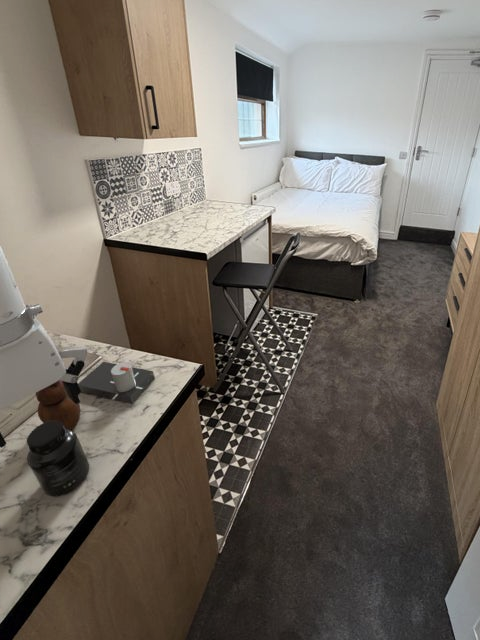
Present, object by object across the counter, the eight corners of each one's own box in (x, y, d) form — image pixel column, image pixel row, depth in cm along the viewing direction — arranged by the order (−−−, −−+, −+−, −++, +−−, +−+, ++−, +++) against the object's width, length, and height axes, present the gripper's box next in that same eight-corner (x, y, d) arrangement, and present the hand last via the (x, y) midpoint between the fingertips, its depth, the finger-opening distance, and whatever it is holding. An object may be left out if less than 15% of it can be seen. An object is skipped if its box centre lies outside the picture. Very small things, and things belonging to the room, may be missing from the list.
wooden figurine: (90, 418, 68) (69, 363, 62) (63, 442, 63) (37, 384, 57) (67, 409, 70) (44, 354, 64) (40, 430, 65) (12, 374, 59)
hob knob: (112, 390, 72) (106, 371, 70) (125, 377, 75) (119, 359, 73) (127, 393, 71) (121, 375, 69) (139, 380, 74) (135, 362, 72)
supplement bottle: (39, 479, 57) (14, 432, 52) (83, 452, 61) (64, 407, 56) (49, 508, 53) (23, 461, 47) (96, 477, 57) (76, 431, 52)
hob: (73, 398, 73) (70, 389, 72) (105, 369, 81) (103, 360, 80) (131, 411, 70) (129, 402, 69) (159, 379, 78) (157, 371, 77)
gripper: (59, 293, 51) (89, 376, 59) (-106, 350, 39) (-41, 446, 46) (79, 309, 47) (109, 395, 55) (-98, 378, 35) (-28, 478, 42)
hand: (40, 418), depth 50 cm, fingers open, 9 cm apart
